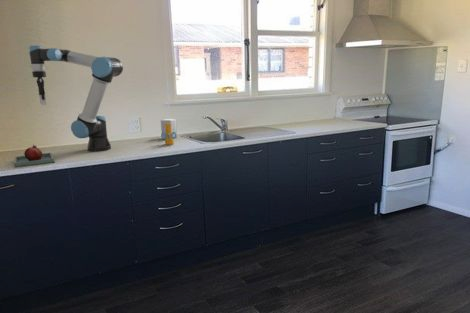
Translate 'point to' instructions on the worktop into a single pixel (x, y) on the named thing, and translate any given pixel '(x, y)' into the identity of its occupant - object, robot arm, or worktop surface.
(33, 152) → the fruit
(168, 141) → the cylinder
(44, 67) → the robot arm
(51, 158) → the tray
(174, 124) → the supplement box
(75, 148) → the worktop surface
